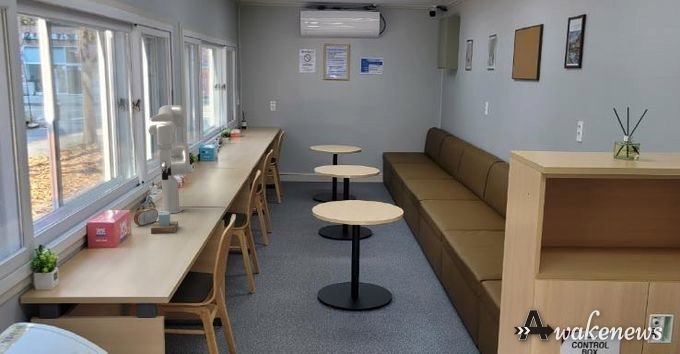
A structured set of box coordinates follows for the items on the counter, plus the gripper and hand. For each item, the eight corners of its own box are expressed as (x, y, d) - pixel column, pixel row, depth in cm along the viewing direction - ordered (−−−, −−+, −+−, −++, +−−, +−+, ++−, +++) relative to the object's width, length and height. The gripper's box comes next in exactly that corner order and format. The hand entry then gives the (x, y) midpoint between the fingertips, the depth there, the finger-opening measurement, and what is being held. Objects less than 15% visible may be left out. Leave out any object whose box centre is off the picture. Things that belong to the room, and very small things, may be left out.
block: (160, 223, 306) (160, 212, 305) (170, 223, 306) (169, 212, 305) (159, 226, 301) (158, 215, 300) (168, 225, 302) (168, 214, 300)
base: (155, 227, 309) (155, 222, 309) (178, 226, 311) (177, 221, 310) (151, 233, 298) (150, 228, 297) (174, 233, 299) (174, 227, 299)
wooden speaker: (155, 220, 323) (154, 206, 322) (159, 221, 322) (158, 206, 320) (133, 226, 311) (132, 211, 309) (137, 227, 309) (136, 212, 308)
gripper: (160, 143, 314) (162, 174, 318) (154, 149, 297) (156, 181, 301) (174, 143, 315) (176, 173, 319) (169, 149, 298) (171, 181, 302)
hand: (166, 177), depth 310 cm, fingers open, 9 cm apart
